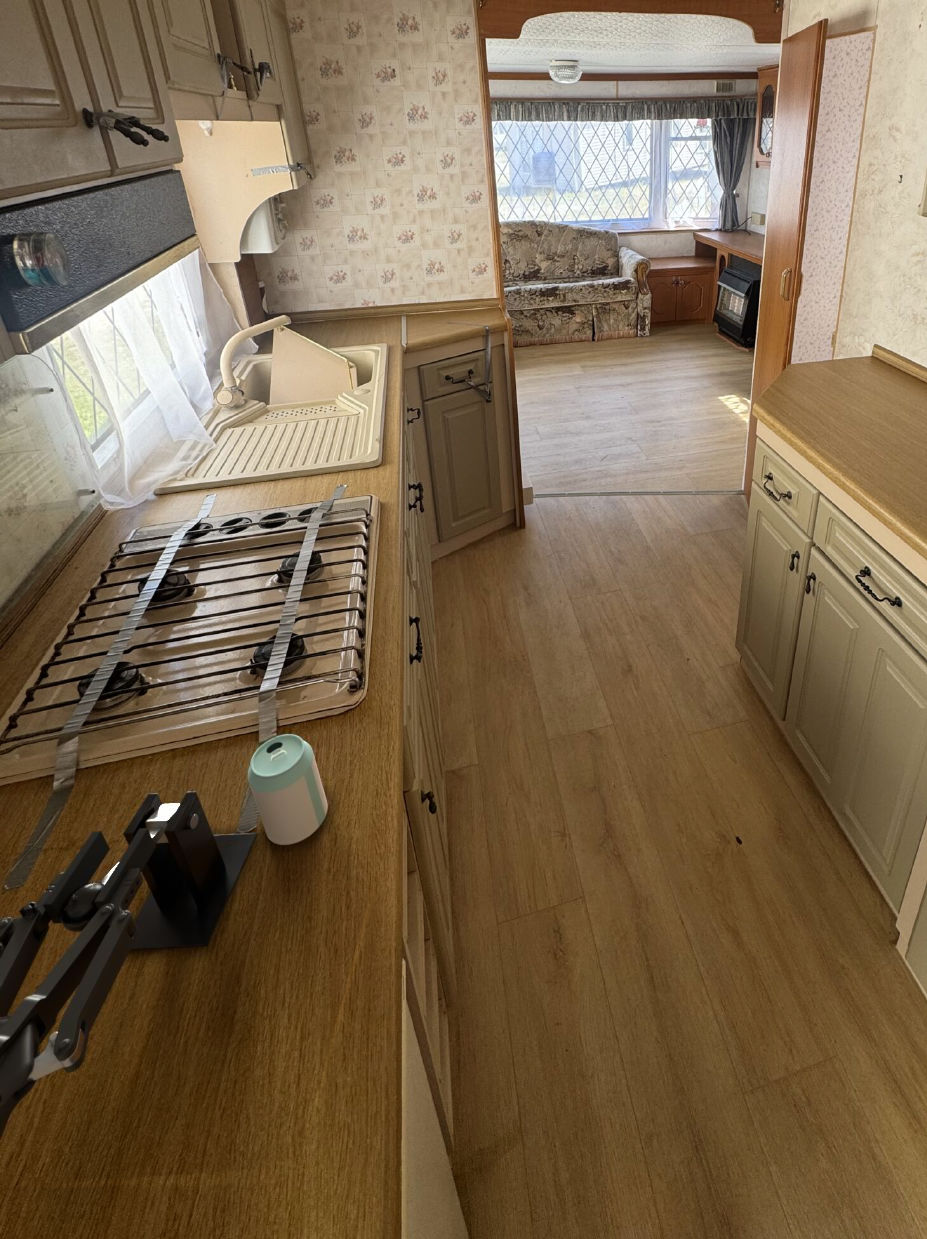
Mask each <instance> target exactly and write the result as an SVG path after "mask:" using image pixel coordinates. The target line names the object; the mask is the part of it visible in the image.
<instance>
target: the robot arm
mask: <svg viewBox="0 0 927 1239" xmlns="http://www.w3.org/2000/svg"><path fill="white" fill-rule="evenodd" d="M155 848H156V846H155V843H154V841H153V839H152V837H151V835H150V832H149V830H148V828H146V829H139V831H138V832H137V834H136V835H135V837H134V839H133V840H132V842H131V844H130V845H128V846H127V848H126V850H125V852H123V854H122V856H121V858H120V860H119V861H118V862H119V863H118V862H117V863H118V864H117V863H116V864H117V866H116V868H115V869H114V871H113V872H112V874H111V876H110V877H109V879H108V881H107V882H106V884H105V885H104V887H103V889H102V890H101V892H100V893H99V895H98V897H97V898H96V900H95V901H94V903H95V904H96V906H97V908H98V911H97V913H96V914H95V915H94V917H93V918H92V919H91V920H90V922H89V923H88V924H87V926H86V927H85V928H84V929H83V931H82V932H79V935H78V936H77V937H76V938H75V940H74V941H73V942H72V944H71V945H70V946H69V947H68V948H67V950H66V951H65V952H64V954H63V955H62V956H61V957H60V958H59V960H58V962H56V964H55V965H54V967H53V968H52V969H51V970H50V972H48V974H47V976H46V977H45V978H44V979H43V981H42V982H41V983H40V985H39V986H38V987H37V989H36V990H35V991H34V992H33V993H32V994H31V995H28V996H26V997H25V998H24V999H23V1000H22V1001H21V1003H20V1004H19V1005H18V1006H17V1007H16V1009H15V1010H14V1011H13V1013H11V1014H9V1012H10V1010H11V1008H12V1006H13V1004H14V1003H15V1000H16V998H17V996H18V994H19V991H20V990H21V987H22V986H23V984H24V981H25V979H26V977H27V975H28V974H29V971H30V970H31V967H32V965H33V963H34V961H35V959H36V957H37V955H38V953H39V951H40V948H41V946H42V945H43V942H44V941H45V939H46V936H47V935H48V932H49V930H50V922H52V924H54V925H55V924H62V922H61V910H62V907H63V904H64V902H65V901H66V899H67V898H68V896H69V895H70V894H71V893H72V892H73V891H74V890H76V889H77V888H78V887H80V886H82V885H84V884H86V883H90V882H91V880H92V878H93V877H94V875H95V873H97V871H98V869H99V868H100V866H101V864H102V862H103V861H104V859H105V858H106V857H107V855H108V853H109V852H110V851H111V848H110V846H109V844H108V841H107V840H106V838H105V835H104V834H103V832H102V830H92V832H91V833H90V835H89V836H88V838H87V839H86V840H85V841H84V843H83V845H82V846H81V848H80V849H79V851H78V852H77V854H76V855H75V857H74V858H73V859H72V861H71V862H70V864H69V865H68V867H67V868H66V870H65V871H64V872H59V873H58V874H57V875H56V876H54V877H53V878H52V880H51V881H50V883H49V884H48V886H47V887H46V888H45V890H44V891H43V893H42V894H41V896H40V897H39V899H38V900H37V902H35V901H30V902H27V903H26V904H24V905H23V906H22V907H21V908H20V909H19V910H18V912H19V914H20V915H21V916H18V917H15V918H12V917H11V916H6V917H3V918H0V1141H2V1138H3V1135H4V1132H5V1131H6V1128H7V1124H8V1122H9V1119H10V1117H11V1114H12V1113H13V1111H14V1110H15V1108H16V1107H17V1106H18V1105H19V1104H20V1102H21V1101H22V1100H23V1099H24V1098H25V1097H26V1096H27V1095H28V1093H30V1092H31V1090H32V1089H33V1088H34V1086H35V1085H36V1083H37V1081H38V1080H40V1079H41V1078H44V1077H46V1076H48V1075H50V1074H52V1073H55V1072H56V1071H59V1070H61V1069H64V1071H65V1073H68V1074H70V1073H74V1072H75V1071H77V1070H78V1069H79V1068H80V1067H81V1066H82V1065H83V1063H84V1061H85V1059H86V1054H87V1049H88V1048H87V1047H88V1043H89V1037H90V1033H91V1030H92V1028H93V1026H94V1024H95V1022H96V1020H97V1019H98V1016H99V1014H100V1012H101V1010H102V1008H103V1006H104V1004H105V1003H106V999H107V998H108V996H109V994H110V992H111V990H112V988H113V986H114V984H115V981H116V979H117V978H118V976H119V974H120V971H121V969H122V967H123V965H124V964H125V962H126V959H127V957H128V955H129V954H130V951H131V950H130V949H131V947H132V945H133V943H134V941H135V939H136V937H137V935H138V932H139V928H138V926H137V924H136V922H135V920H136V919H134V916H133V915H132V913H131V911H130V910H129V908H130V906H131V905H132V902H133V901H134V899H135V897H136V895H137V894H138V892H139V890H140V888H141V887H142V885H143V882H144V876H143V874H142V870H143V868H144V867H145V865H146V863H147V861H148V860H149V858H150V856H151V855H152V853H153V851H154V849H155ZM71 996H72V998H71ZM70 998H71V999H70ZM69 1000H70V1002H69V1003H68V1005H67V1007H66V1009H65V1010H64V1013H63V1015H62V1017H61V1020H60V1022H59V1025H58V1028H57V1030H56V1031H54V1032H52V1033H51V1034H50V1035H49V1033H50V1032H51V1031H52V1029H53V1028H54V1026H55V1025H56V1022H57V1018H58V1015H59V1013H60V1012H61V1010H63V1007H64V1006H65V1005H66V1003H67V1002H68V1001H69ZM48 1035H49V1037H48V1042H47V1045H46V1047H45V1049H44V1050H42V1052H41V1053H40V1045H41V1044H42V1043H43V1041H44V1040H45V1039H46V1038H47V1036H48Z"/></svg>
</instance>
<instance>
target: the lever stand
mask: <svg viewBox="0 0 927 1239" xmlns="http://www.w3.org/2000/svg"><path fill="white" fill-rule="evenodd" d="M163 804H164V803H162V800H161V797H160V796H159V793H158V792H155V793H147V795H146V797H145V798H144V800H143V801H142V803H141V805H140V806H139V808H138V810H137V811H136V812H135V814H134V816H132V819H131V820H130V822H129V823H128V825H127V826H126V828H125V830H124V831H123V833H122V834H123V837H124V839H125V841H126V843H127V845H128V846H129V845H130V844H131V842H132V840H133V839H134V837H135V835H136V834H137V832H138V831H139V829H146V823H145V822H146V821H147V820H148V819H149V818H150V817H151V816H152V815H153V814H154V813H155V812H156V811H157V810H158V808H159V807H160V806H161V805H163ZM178 804H179V806H178V808H177V810H176V811H175V813H174V815H173V816H172V818H171V820H170V822H169V823H168V825H167V827H166V828H165V830H164V833H165V835H166V838H167V840H168V843H156V844H155V846H156V848H155V849H154V851H153V853H152V855H151V856H150V858H149V860H148V861H147V863H146V865H145V867H144V868H143V870H142V872H141V874H142V876H143V879H144V881H145V882H146V884H147V886H148V888H149V891H150V892H149V895H148V896H147V897H146V900H145V902H144V903H143V906H142V907H141V909H140V910H139V912H138V914H137V916H136V918H135V919H134V920H135V922H136V924H137V926H138V928H139V932H138V935H137V937H136V939H135V941H134V943H133V945H132V947H131V949H130V951H140V950H159V949H176V948H192V947H194V948H195V947H208V946H209V943H210V942H211V939H212V937H213V934H214V932H215V930H216V928H217V927H218V926H217V925H218V924H219V921H220V919H221V917H222V914H223V913H224V910H225V908H226V905H227V904H228V902H229V899H230V897H231V895H232V893H233V890H234V888H235V885H236V884H237V882H238V879H239V877H240V874H241V872H242V870H243V867H244V865H245V864H246V861H247V859H248V857H249V854H250V852H251V851H252V848H253V845H254V843H255V841H256V839H257V837H258V834H259V833H258V832H249V833H248V832H246V833H228V834H214V833H213V831H212V828H211V826H210V823H209V820H208V818H207V815H206V813H205V811H204V807H203V806H202V803H201V800H200V797H199V795H198V793H197V791H186V792H185V794H184V796H183V798H182V799H181V801H180V803H178Z"/></svg>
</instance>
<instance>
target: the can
mask: <svg viewBox="0 0 927 1239" xmlns="http://www.w3.org/2000/svg"><path fill="white" fill-rule="evenodd" d="M249 764H250V765H249V767H248V771H247V782H248V786H249V788H250V792H251V794H252V797H253V800H254V802H255V805H256V809H257V812H258V814H259V817H260V820H261V823H262V826H263V829H264V832H265V834H266V836H267V838H268V839H269V840H270V841H271V842H272V843H274V844H276V845H280V846H287V845H292V844H297V843H299V842H302V841H304V840H306V839H307V838H308V837H310V836H311V835H312V834H314V832H316V831H317V830H318V829H319V827H321V825H322V824H323V822H324V820H325V818H326V817H327V814H328V809H329V808H328V801H327V797H326V796H327V795H326V794H325V789H324V786H323V782H322V779H321V775H320V772H319V769H318V765H317V761H316V757H315V754H314V751H313V747H312V746H311V745H310V744H309V743H308V742H307V741H305V740H303V738H302V737H301V736H299V735H296V734H291V733H286V734H280V735H277V736H274V737H272V738H270V739H268V740H266V741H265V742H264V743H262V744H261V745H260V746H259V747H258V748H257V749H256V751H255V752H254V753H253V755H252V757H251V759H250V763H249Z"/></svg>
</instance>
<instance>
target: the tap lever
mask: <svg viewBox="0 0 927 1239" xmlns="http://www.w3.org/2000/svg"><path fill="white" fill-rule="evenodd" d="M162 804H163V805H161V806H160V807H159V808H158V810H157V811H156V812H155V813H154V814H153V815H152V816H151V817H150V818H149V819H148V820H147V821H146V822H145V823H146V828H148V830H149V832H150V835H151V837H152V839H153V841H154V843H155V844H156V843H168V840H167V838H166V835H165V833H164V830H165V828H166V827H167V825H168V823H169V822H170V820H171V818H172V816H173V815H174V813H175V811H176V810H177V808H178V806H179V804H180V803H162ZM118 863H119V861H118V862H117V863H116V864H115V866H113V867H112V868H111V869H110V871H108V873H106V875H105V876H104V877H102V878H101V880H100V881H89V883H86V884H84V885H82V886H80V887H78V888H77V889H76V890H74V891H73V892H72V893H71V894H70V895H69V896H68V898H67V899H66V901H65V902H64V904H63V907H62V910H61V922H62V923H61V925H62V926H63V927H64V928H65V929H66V930H68V931H69V932H72V933H81V932H82V931H83V929H84V928H85V927H86V926H87V924H88V923H89V922H90V920H91V919H92V918H93V917H94V915H95V914H96V913H97V911H98V908H97V906H96V904H95V903H94V901H95V900H96V898H97V897H98V895H99V893H100V892H101V890H102V889H103V887H104V885H105V884H106V882H107V881H108V879H109V877H110V876H111V874H112V872H113V871H114V869H115V868H116V866H117V864H118Z"/></svg>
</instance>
